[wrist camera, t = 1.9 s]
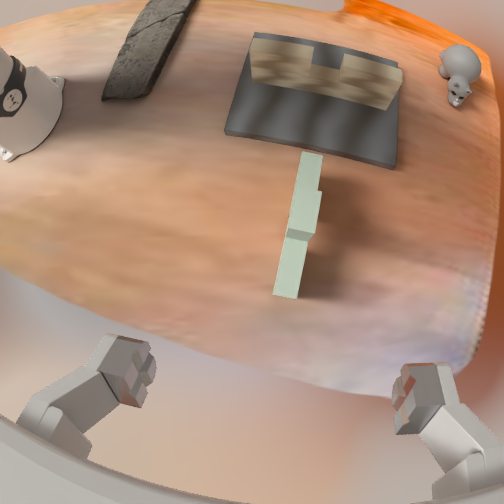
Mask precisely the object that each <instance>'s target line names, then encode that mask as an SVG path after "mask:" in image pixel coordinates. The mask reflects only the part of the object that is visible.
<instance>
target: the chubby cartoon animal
mask: <svg viewBox="0 0 504 504" xmlns="http://www.w3.org/2000/svg"><path fill="white" fill-rule="evenodd" d="M440 59H441V60H442V62H443V65H441V66H440V67H439V69H438V70H439V74H440V75H441V76H442V77H443V78H449V77H450V79H449V81H448V84H447V88H448V91H449V94H448V101H449V103H450V104H451V105H452V106H454V107H459V106H460V105H461V104H462V102H463V101H464V100H465V99H466V98H467V97H468V96H469V95H470V94H472V91H471V90H470V86H469V84H471V83H473V82H475V81H476V80H477V79H478V78H479V76H480V74H481V63H480V60H479V58H478V56H477V55H476V53H475V52H474V51H473V50H472V49H471V48H470V47H467V46H464V45H459V44H457V45H452V46H450V47H448V48H447V49H446V50H444V51H442V52H441V53H440Z"/></svg>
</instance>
